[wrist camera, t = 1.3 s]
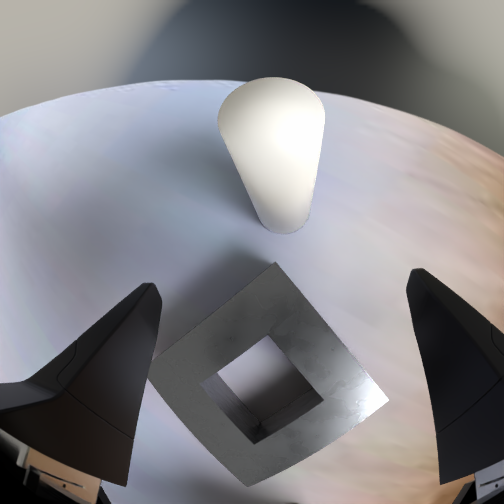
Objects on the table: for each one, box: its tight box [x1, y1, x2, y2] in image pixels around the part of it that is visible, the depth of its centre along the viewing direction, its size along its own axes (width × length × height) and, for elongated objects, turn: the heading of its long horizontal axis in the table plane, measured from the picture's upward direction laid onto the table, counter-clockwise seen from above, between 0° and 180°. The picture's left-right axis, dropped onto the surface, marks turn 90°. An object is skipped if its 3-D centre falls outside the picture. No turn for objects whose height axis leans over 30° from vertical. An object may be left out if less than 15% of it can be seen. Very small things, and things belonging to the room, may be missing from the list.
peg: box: [218, 77, 325, 234], centre depth 16 cm, size 4×4×13 cm
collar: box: [147, 262, 388, 487], centre depth 19 cm, size 13×13×4 cm
